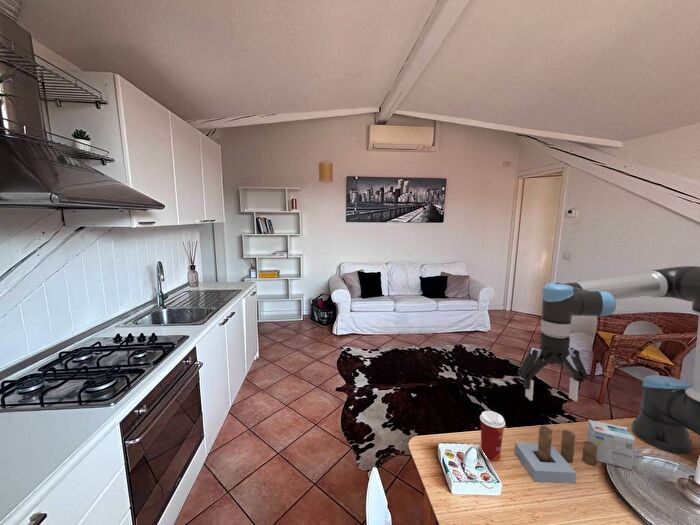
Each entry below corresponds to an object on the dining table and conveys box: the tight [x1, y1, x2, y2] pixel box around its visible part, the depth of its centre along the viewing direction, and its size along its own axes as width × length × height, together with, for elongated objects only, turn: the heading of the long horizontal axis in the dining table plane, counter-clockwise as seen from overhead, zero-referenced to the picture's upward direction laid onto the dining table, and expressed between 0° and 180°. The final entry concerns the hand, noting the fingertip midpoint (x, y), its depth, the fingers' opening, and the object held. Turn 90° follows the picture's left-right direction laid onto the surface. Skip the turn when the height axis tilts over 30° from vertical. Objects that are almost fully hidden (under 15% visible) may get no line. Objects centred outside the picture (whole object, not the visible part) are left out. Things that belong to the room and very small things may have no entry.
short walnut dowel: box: [582, 440, 597, 467], centre depth 96 cm, size 3×3×6 cm
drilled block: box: [514, 442, 577, 484], centre depth 94 cm, size 12×12×4 cm
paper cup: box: [479, 410, 506, 462], centre depth 98 cm, size 8×8×14 cm
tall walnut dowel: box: [537, 425, 553, 462], centre depth 94 cm, size 3×3×13 cm
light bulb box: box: [586, 419, 636, 471], centre depth 97 cm, size 11×7×11 cm, turn 65°
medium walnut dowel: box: [560, 429, 576, 464], centre depth 97 cm, size 3×3×9 cm
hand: (550, 398), depth 93 cm, fingers open, 13 cm apart
